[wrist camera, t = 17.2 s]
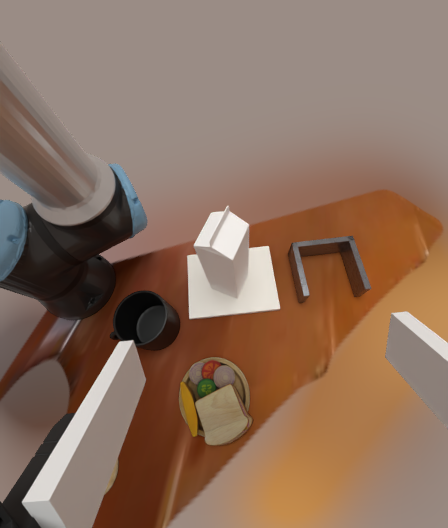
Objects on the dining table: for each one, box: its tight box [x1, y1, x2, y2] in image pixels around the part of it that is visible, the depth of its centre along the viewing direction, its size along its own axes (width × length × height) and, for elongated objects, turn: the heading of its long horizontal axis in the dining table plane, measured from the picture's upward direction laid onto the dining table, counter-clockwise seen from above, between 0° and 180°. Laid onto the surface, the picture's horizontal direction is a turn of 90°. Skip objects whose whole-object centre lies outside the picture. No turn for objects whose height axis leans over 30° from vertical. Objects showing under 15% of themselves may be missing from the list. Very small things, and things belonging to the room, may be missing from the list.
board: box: [187, 246, 280, 320], centre depth 52 cm, size 18×14×1 cm
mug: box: [110, 291, 180, 350], centre depth 46 cm, size 9×12×9 cm
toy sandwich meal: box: [179, 357, 253, 446], centre depth 42 cm, size 12×14×5 cm
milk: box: [194, 206, 249, 299], centre depth 41 cm, size 6×6×22 cm
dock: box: [288, 236, 371, 303], centre depth 49 cm, size 12×11×5 cm
